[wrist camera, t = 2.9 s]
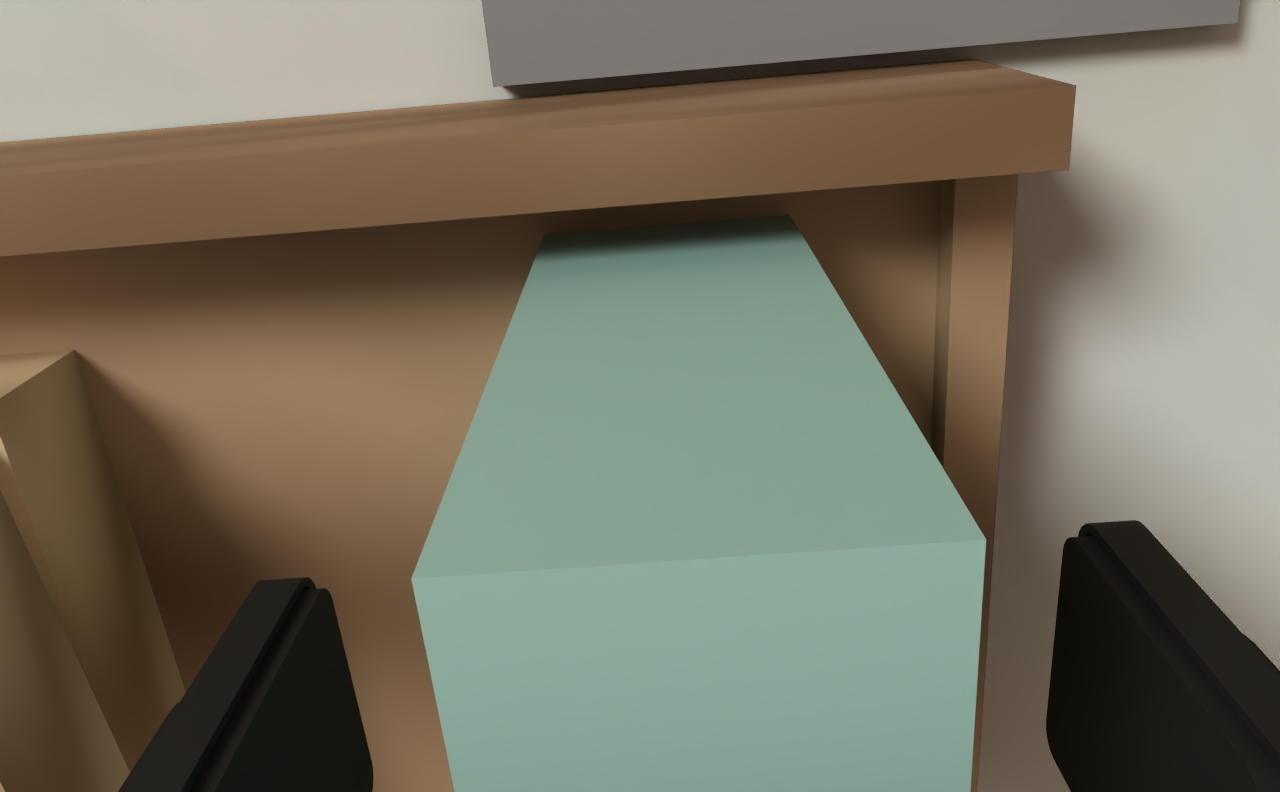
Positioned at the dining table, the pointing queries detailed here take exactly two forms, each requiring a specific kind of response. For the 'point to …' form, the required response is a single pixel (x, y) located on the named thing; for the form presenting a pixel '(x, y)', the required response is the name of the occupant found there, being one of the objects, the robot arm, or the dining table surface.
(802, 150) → the tray
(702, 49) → the felt pad
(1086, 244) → the dining table surface
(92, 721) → the offcut top
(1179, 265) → the dining table surface
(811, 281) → the block
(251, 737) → the robot arm
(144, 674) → the offcut low
